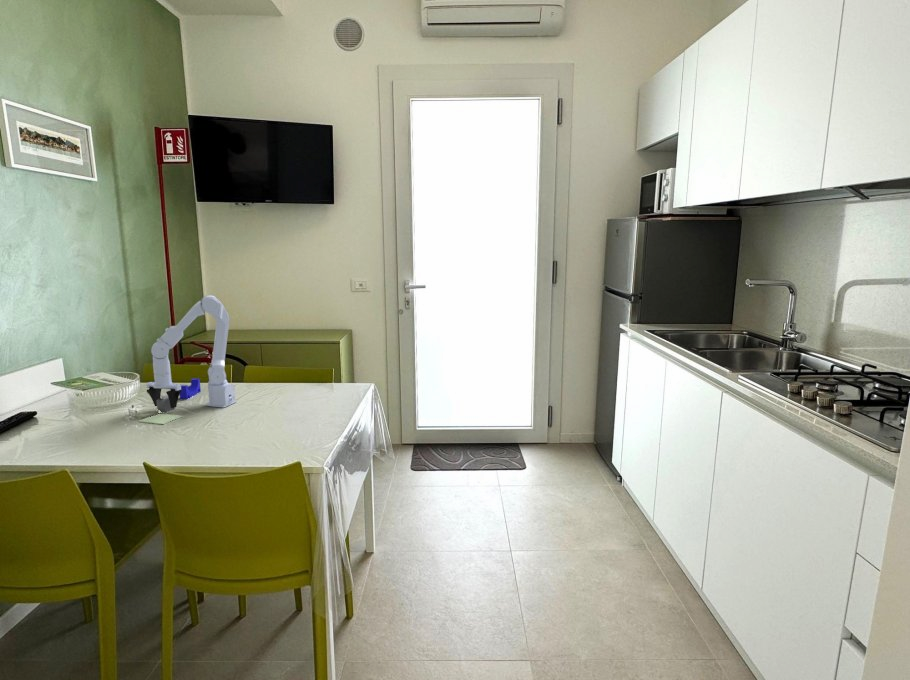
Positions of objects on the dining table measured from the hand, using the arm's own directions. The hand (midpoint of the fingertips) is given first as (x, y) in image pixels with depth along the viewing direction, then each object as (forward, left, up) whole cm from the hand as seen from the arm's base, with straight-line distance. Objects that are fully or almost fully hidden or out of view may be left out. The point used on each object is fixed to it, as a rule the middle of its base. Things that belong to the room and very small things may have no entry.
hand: (165, 406), depth 208 cm
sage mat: (-6, +9, -2) cm, 11 cm away
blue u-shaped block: (+7, -20, -2) cm, 21 cm away
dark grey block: (0, 0, -2) cm, 2 cm away
